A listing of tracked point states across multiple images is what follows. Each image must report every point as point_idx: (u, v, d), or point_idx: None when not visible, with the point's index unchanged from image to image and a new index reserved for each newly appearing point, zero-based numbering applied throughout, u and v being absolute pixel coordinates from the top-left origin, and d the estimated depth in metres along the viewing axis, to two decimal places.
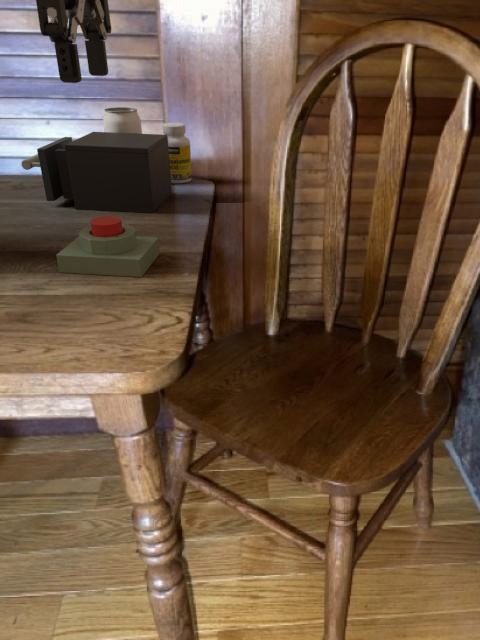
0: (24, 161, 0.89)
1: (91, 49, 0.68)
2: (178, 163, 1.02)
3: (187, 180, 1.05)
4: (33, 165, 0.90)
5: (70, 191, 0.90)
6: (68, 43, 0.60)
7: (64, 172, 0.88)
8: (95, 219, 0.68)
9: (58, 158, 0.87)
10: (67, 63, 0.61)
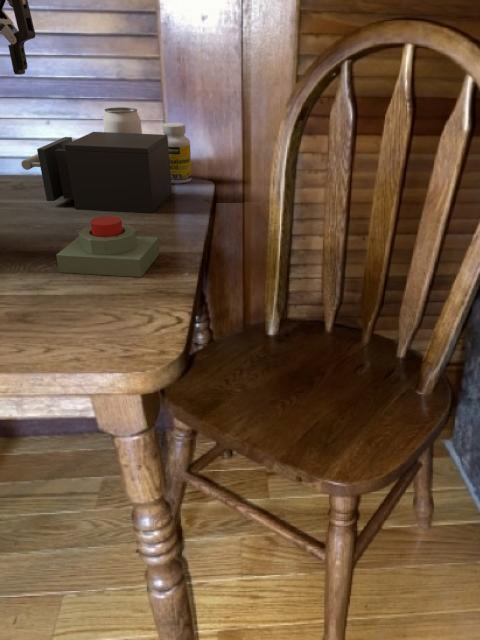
0: (24, 161, 0.89)
1: None
2: (178, 163, 1.02)
3: (187, 180, 1.05)
4: (33, 165, 0.90)
5: (70, 191, 0.90)
6: None
7: (64, 172, 0.88)
8: (95, 219, 0.68)
9: (58, 158, 0.87)
10: None
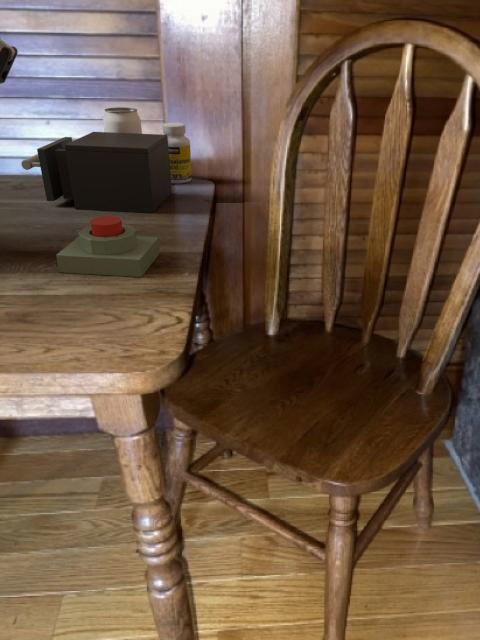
0: (24, 161, 0.89)
1: None
2: (178, 163, 1.02)
3: (187, 180, 1.05)
4: (33, 165, 0.90)
5: (70, 191, 0.90)
6: None
7: (64, 172, 0.88)
8: (95, 219, 0.68)
9: (58, 158, 0.87)
10: None
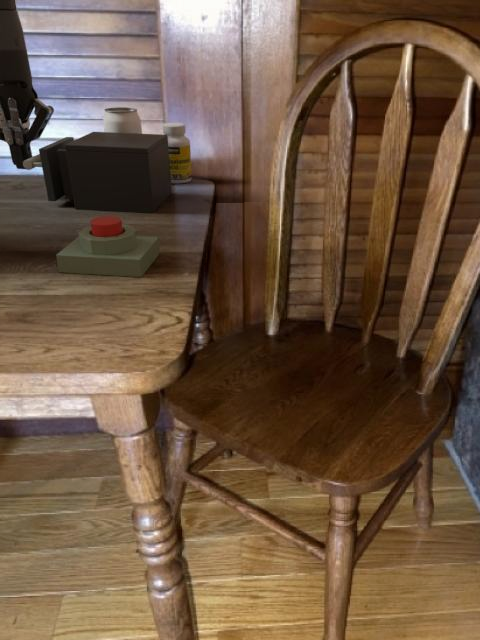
0: (26, 161, 0.89)
1: None
2: (178, 163, 1.02)
3: (187, 180, 1.05)
4: (35, 165, 0.90)
5: None
6: None
7: (66, 172, 0.88)
8: (95, 219, 0.68)
9: (60, 158, 0.87)
10: None
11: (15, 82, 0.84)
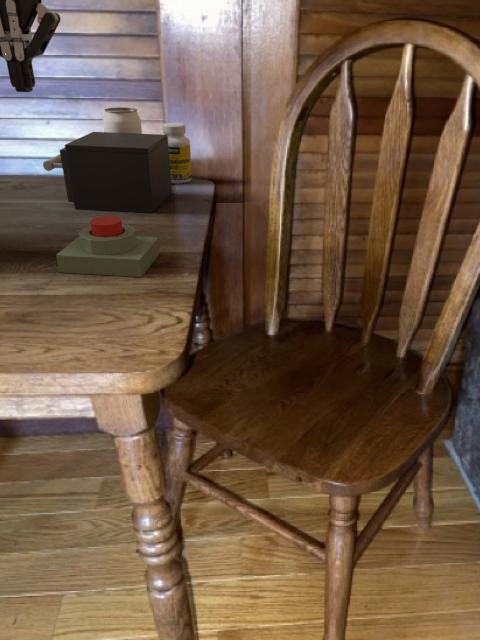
0: (46, 162, 0.89)
1: None
2: (178, 163, 1.02)
3: (187, 180, 1.05)
4: (55, 166, 0.89)
5: None
6: (7, 60, 0.76)
7: None
8: (95, 219, 0.68)
9: None
10: None
11: None
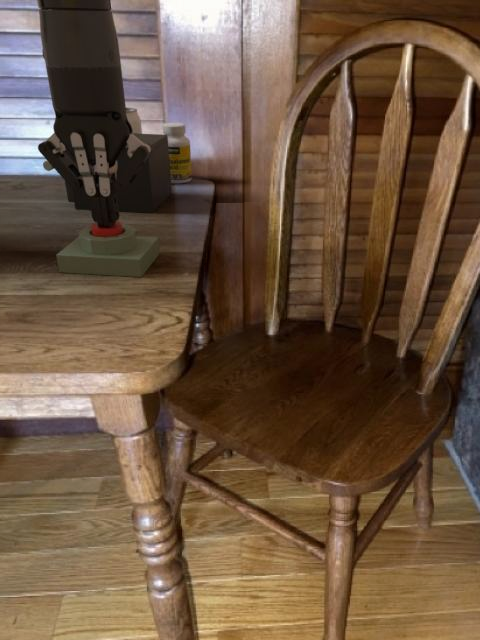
0: (46, 162, 0.89)
1: None
2: (178, 163, 1.02)
3: (187, 180, 1.05)
4: None
5: None
6: None
7: None
8: (96, 224, 0.69)
9: None
10: None
11: (106, 112, 0.59)
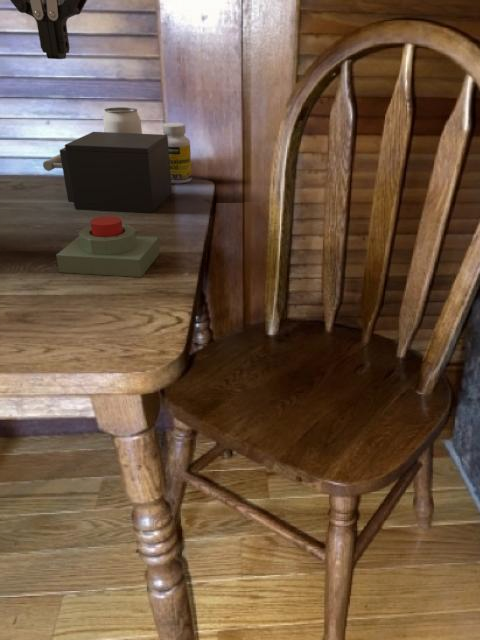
0: (46, 162, 0.89)
1: None
2: (178, 163, 1.02)
3: (187, 180, 1.05)
4: (55, 166, 0.89)
5: None
6: (37, 20, 0.64)
7: None
8: (95, 219, 0.68)
9: None
10: None
11: None
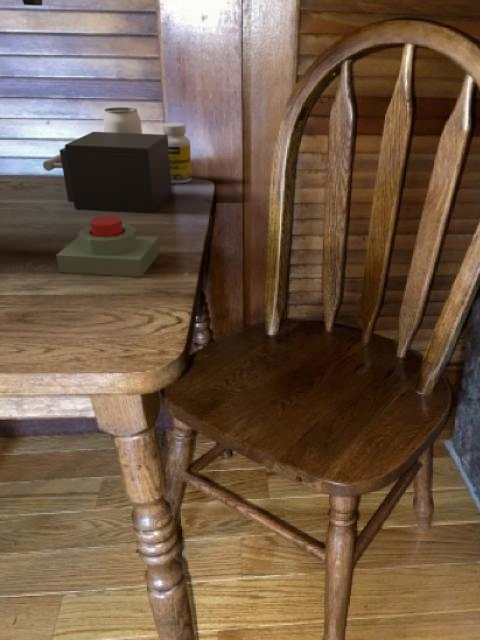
0: (46, 162, 0.89)
1: None
2: (178, 163, 1.02)
3: (187, 180, 1.05)
4: (55, 166, 0.89)
5: None
6: None
7: None
8: (95, 219, 0.68)
9: None
10: None
11: None
